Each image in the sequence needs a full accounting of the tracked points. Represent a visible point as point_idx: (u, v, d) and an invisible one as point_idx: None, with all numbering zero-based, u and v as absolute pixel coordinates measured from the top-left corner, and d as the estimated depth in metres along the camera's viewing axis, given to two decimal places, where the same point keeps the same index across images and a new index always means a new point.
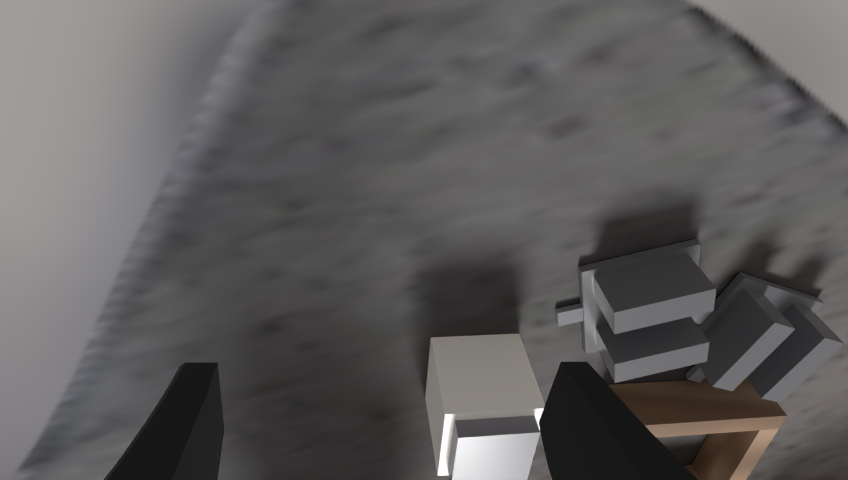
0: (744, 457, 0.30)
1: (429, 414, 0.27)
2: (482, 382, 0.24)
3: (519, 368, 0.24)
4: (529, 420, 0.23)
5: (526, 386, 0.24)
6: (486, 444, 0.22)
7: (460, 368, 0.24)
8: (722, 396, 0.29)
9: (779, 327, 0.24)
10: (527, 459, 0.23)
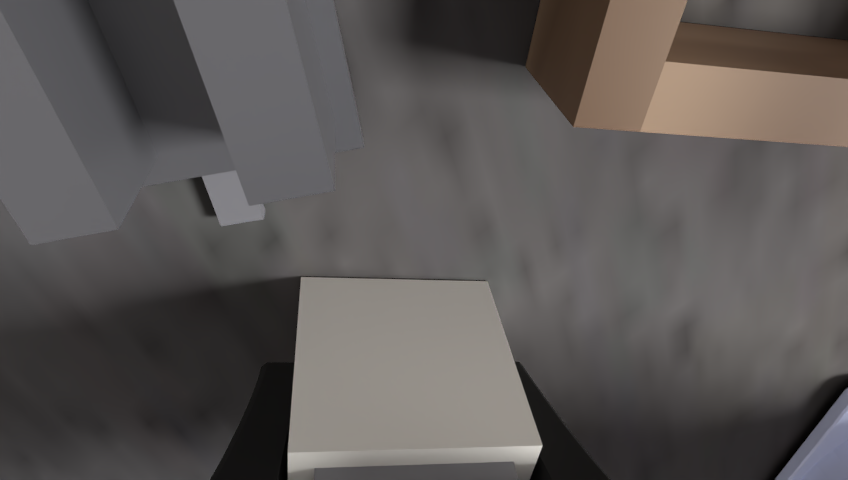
0: None
1: None
2: None
3: None
4: None
5: None
6: None
7: None
8: None
9: None
10: None
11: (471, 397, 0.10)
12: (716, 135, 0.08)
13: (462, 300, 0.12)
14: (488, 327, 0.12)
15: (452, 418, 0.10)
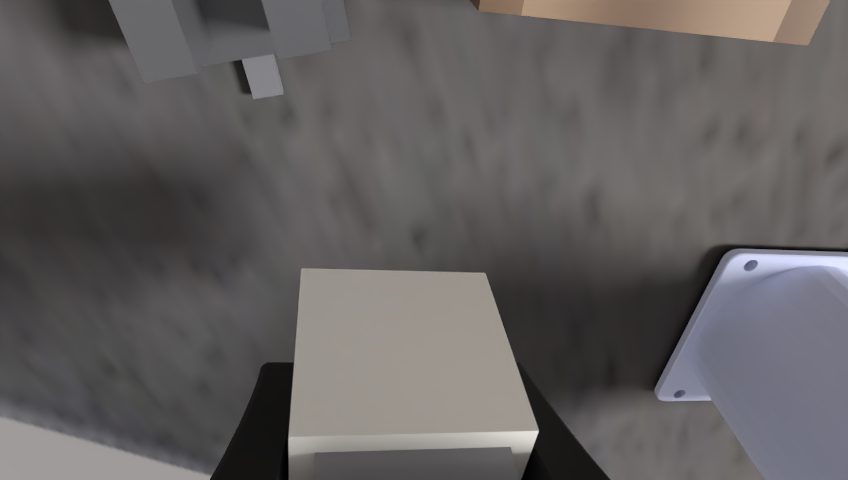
0: None
1: None
2: None
3: None
4: None
5: None
6: None
7: None
8: None
9: None
10: None
11: (469, 384, 0.10)
12: (571, 19, 0.13)
13: (460, 291, 0.12)
14: (486, 317, 0.12)
15: (450, 405, 0.10)
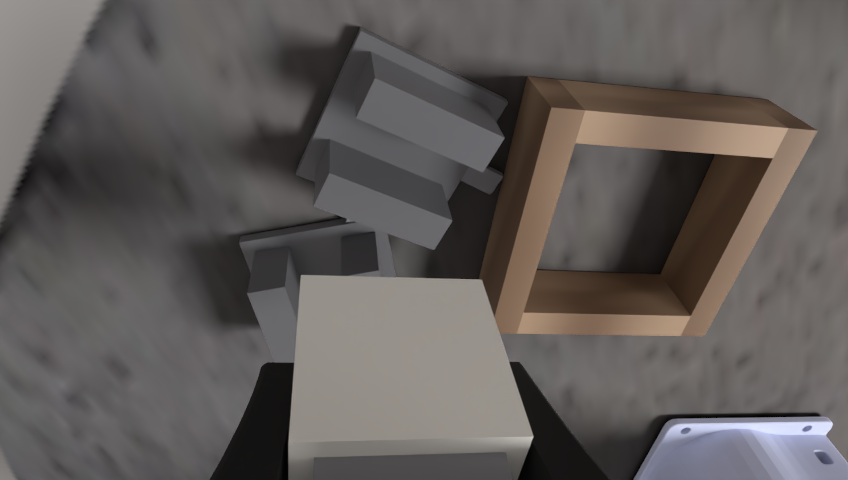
0: (646, 146, 0.17)
1: None
2: None
3: None
4: None
5: None
6: None
7: None
8: (517, 167, 0.19)
9: (323, 197, 0.17)
10: None
11: (465, 390, 0.10)
12: (548, 333, 0.21)
13: (457, 298, 0.13)
14: (482, 324, 0.12)
15: (446, 411, 0.10)
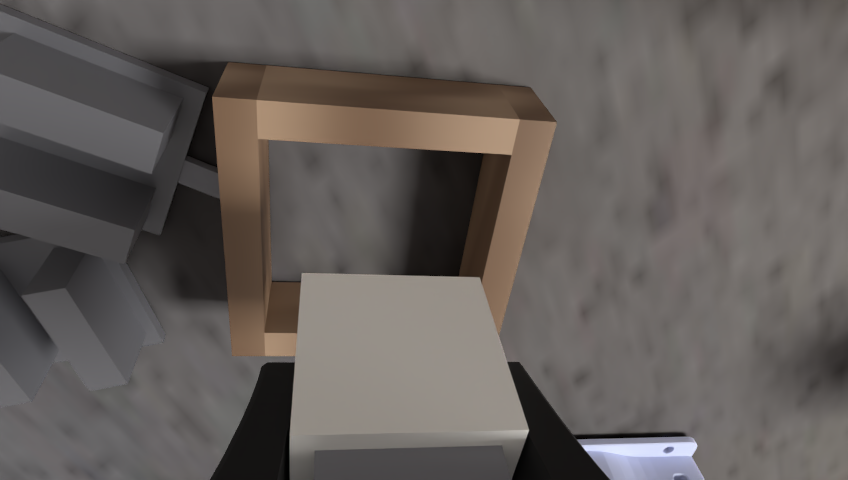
0: (347, 141, 0.15)
1: None
2: None
3: None
4: (313, 472, 0.10)
5: None
6: None
7: None
8: None
9: None
10: None
11: (462, 385, 0.11)
12: None
13: (455, 295, 0.13)
14: (480, 320, 0.12)
15: (444, 405, 0.10)
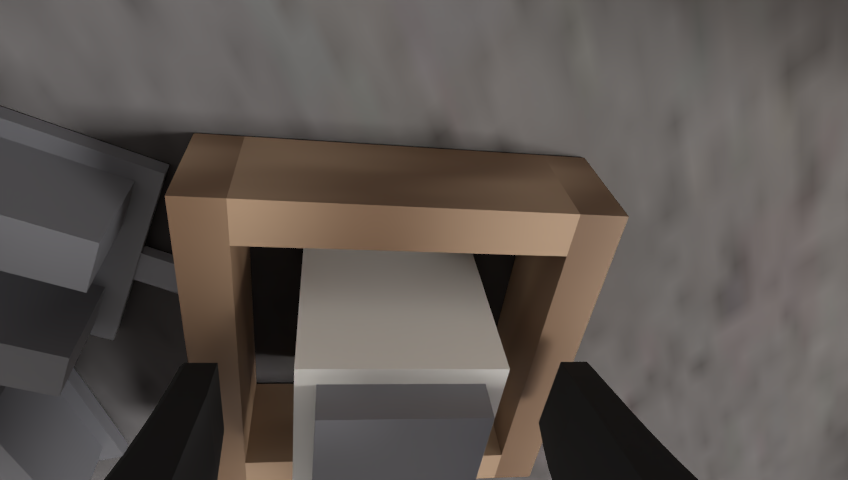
0: (351, 246, 0.11)
1: None
2: None
3: None
4: (315, 404, 0.11)
5: None
6: None
7: None
8: None
9: None
10: (411, 426, 0.10)
11: (450, 331, 0.12)
12: None
13: (446, 257, 0.14)
14: (468, 278, 0.13)
15: (434, 347, 0.11)
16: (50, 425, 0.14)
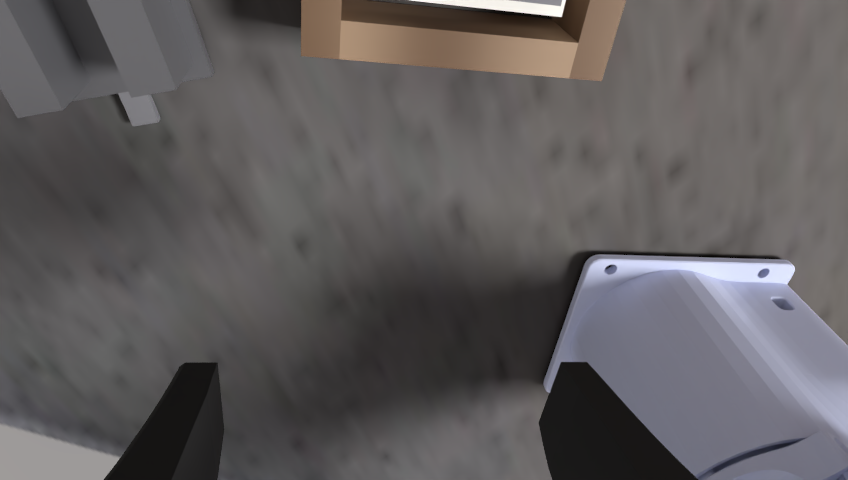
0: None
1: None
2: None
3: None
4: None
5: None
6: None
7: None
8: None
9: None
10: None
11: None
12: (383, 61, 0.16)
13: None
14: None
15: None
16: None
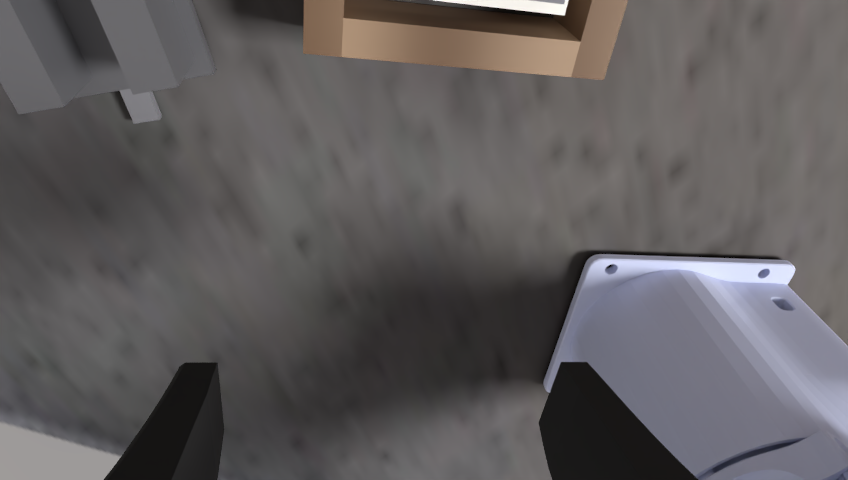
0: None
1: None
2: None
3: None
4: None
5: None
6: None
7: None
8: None
9: None
10: None
11: None
12: (386, 59, 0.16)
13: None
14: None
15: None
16: None
